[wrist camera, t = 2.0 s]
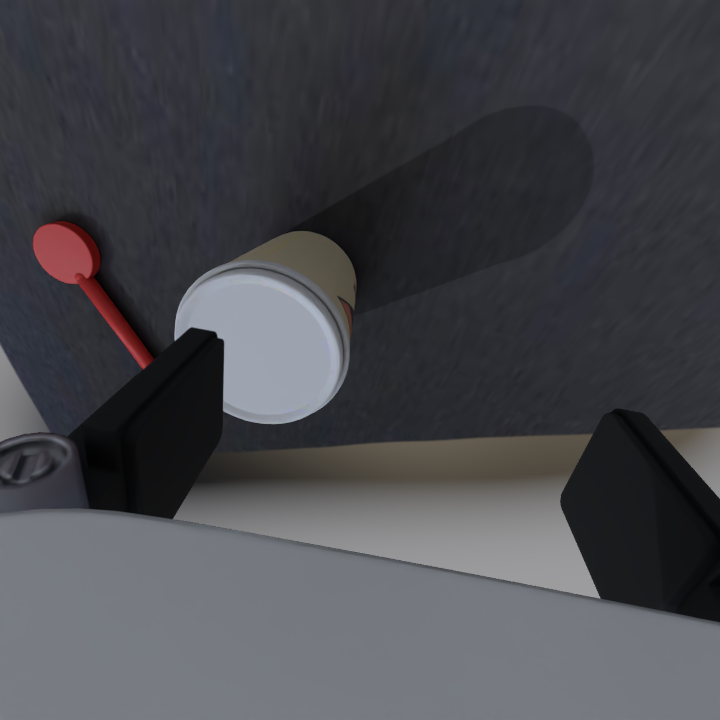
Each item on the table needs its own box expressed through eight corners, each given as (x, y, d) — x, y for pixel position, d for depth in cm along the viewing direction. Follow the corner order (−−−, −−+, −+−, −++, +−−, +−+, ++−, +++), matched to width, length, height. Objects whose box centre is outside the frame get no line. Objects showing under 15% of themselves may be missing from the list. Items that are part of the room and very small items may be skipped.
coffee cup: (331, 357, 35) (297, 454, 25) (228, 300, 34) (146, 377, 23) (391, 262, 31) (382, 331, 21) (276, 191, 30) (203, 227, 19)
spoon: (30, 235, 33) (17, 239, 32) (73, 210, 32) (61, 213, 31) (154, 397, 39) (147, 405, 38) (194, 382, 38) (188, 389, 37)
